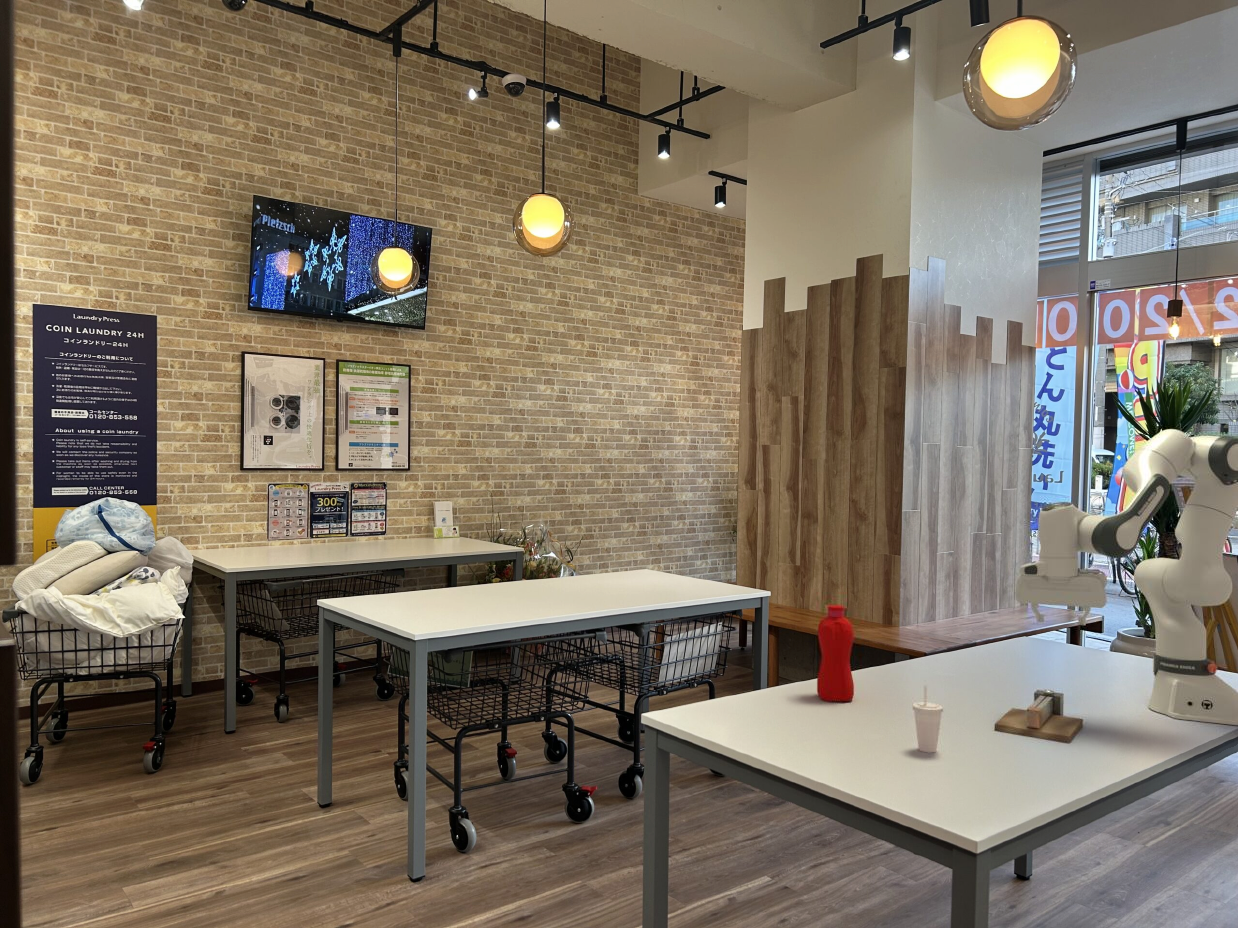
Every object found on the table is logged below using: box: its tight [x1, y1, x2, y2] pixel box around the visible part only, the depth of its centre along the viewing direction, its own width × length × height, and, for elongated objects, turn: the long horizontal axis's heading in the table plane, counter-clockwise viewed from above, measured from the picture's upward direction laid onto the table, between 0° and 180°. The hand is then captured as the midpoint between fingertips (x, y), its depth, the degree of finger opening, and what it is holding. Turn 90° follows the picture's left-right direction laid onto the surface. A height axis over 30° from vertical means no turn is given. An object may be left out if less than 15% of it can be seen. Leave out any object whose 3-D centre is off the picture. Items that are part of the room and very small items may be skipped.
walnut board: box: [994, 707, 1084, 744], centre depth 212 cm, size 16×18×2 cm
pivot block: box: [1033, 689, 1065, 716], centre depth 221 cm, size 6×4×7 cm, turn 54°
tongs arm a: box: [1033, 697, 1053, 728], centre depth 212 cm, size 16×1×4 cm, turn 143°
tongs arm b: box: [1026, 695, 1046, 727], centre depth 212 cm, size 16×1×4 cm, turn 144°
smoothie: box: [912, 685, 944, 753], centre depth 194 cm, size 6×6×14 cm
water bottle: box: [816, 604, 855, 703], centre depth 238 cm, size 9×11×25 cm
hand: (1061, 623), depth 220 cm, fingers open, 8 cm apart
